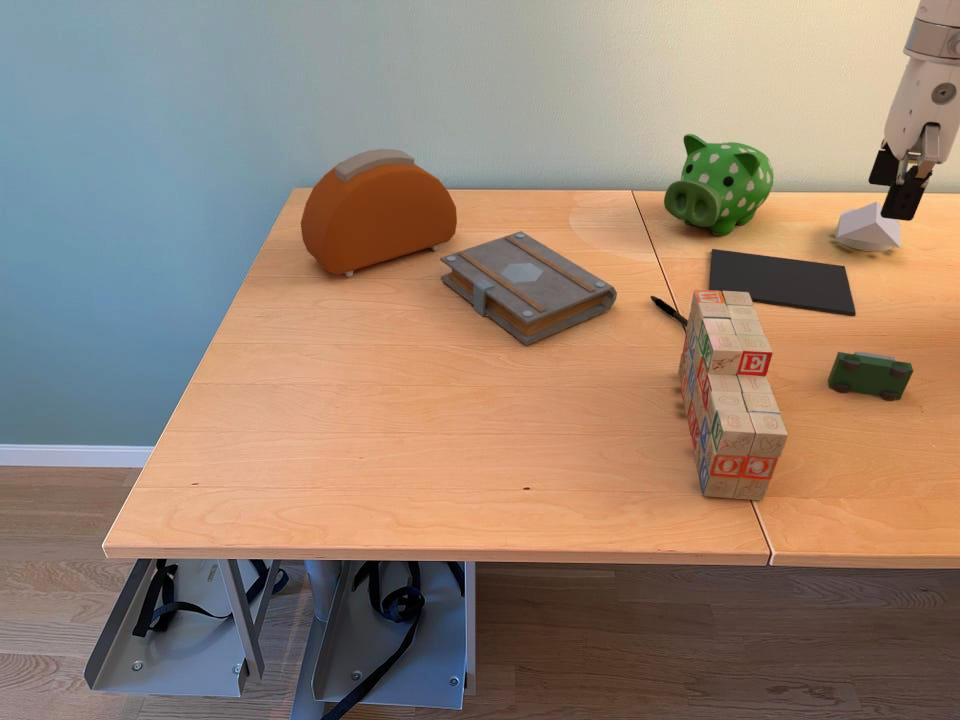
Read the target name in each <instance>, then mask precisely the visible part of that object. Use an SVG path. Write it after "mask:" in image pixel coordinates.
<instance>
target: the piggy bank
mask: <svg viewBox="0 0 960 720" xmlns="http://www.w3.org/2000/svg"><path fill="white" fill-rule="evenodd" d="M682 141H683V144H684V148H685V151H686V152H685V153H686V158H685V162H684V164H683V167H682V171H681V175H680V180H676V181H674V182H671V184H670V185H669V186H668V187H667V188H666V191H665V193H664V197H663V206H664V208H665V210H666V211H667V212H668V213H669V214H670V215H671V216H672V217H674V218H676V219H678V220H680V221H683V222H684V223H685V224H688V225H690V226H696V227H700V228H709V229H710V230H711V233H712V234H713V235H716V236H719V237H720V236H721V237H724V236H727V235H729V234H731V232H733V231H734V229H735V226H736V225H737V226H738V225H739V226H743V225H746V224H748V223H749V222H750V221H751V220H752V219H753V218H754V217H755V214H756V212H757V210H758V209H759V208H760V207H761V206H762V205H763V204H764V203H765V201H767V199H768V197H769V196H770V193H771V192H772V189H773V186H774V178H775V177H774V171H773V170H774V169H773V166H772V164H771V161H770V159H769V157H768V156H767V154H765V153H764V152H762V151H761V150H759V149H757V148H755V147H753V146H752V145H748V144H744V143H741V142H733V141H732V142H731V141H728V142H727V141H726V142H706V141H705V140H704V139H702V138H700V137H699V136H698V135H696V134H693V133H688V134H685V135H683V140H682Z"/></svg>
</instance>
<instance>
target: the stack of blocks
mask: <svg viewBox="0 0 960 720" xmlns="http://www.w3.org/2000/svg"><path fill="white" fill-rule="evenodd" d="M687 320H688V324H687V328H686V327H685V328H686V329H685V338H684V343H683V348H682V353H681V354H680V359H679V366H678V372H677V374H678V379H679V383H680V392H681V397H682V401H683V406H684V413H685V417H686V419H687V423H688V427H689V432H690V436H691V440H692V444H693V449H694V459H695V464H696V469H697V473H698V477H699V478H698V479H699V483H700V487H701V488H700V489H701V493H702V495H703V496H704V497H711V498H713V497H714V498H726V499H737V500H748V501H749V500H750V501H763V500H765V499H764V498H765V496H766V494H767V491H768V488H769V485H770V482H771V480H772V477H773V476H774V472H775V470H776V467H777V463H778V461H779V458H780V457H782V453H783V450H784V448H785V445H786V442H787V439H788V436H789V433H788V431H787V428H786V425H785V423H784V420H783V418H782V415H781V411H780V408H779V405H778V403H777V400H776V397H775V396H774V393H773V390H772V387H771V385H770V383H769V380H768V378H767V377H766V376H767V374H768V371H769V367H770V364H771V360H772V357H773V354H774V351H773V350H772V347H771V345H770V341H769V339H768V338H767V336H766V335H765V332H764V330H763V327H762V324H761V322H760V318H759V316H758V314H757V311H756V308H755V306H754V301H752V300H751V297H750V294H749V293H748V292H735V291H722V292H721V291H712V290H709V289H694V290H693V293H692V299H691V304H690V311H689V314H688V319H687Z"/></svg>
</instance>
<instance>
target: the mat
mask: <svg viewBox="0 0 960 720" xmlns="http://www.w3.org/2000/svg"><path fill="white" fill-rule="evenodd" d="M709 266H710V268H709V279H708V280H709V281H708V290H712V291H721V292H722V291H735V292H748V293H749V294H750V297H751V300H752V302H753V303H763V304H768V305H776V306H783V307H790V308H797V309H802V310H810V311H817V312H825V313H831V314H837V315H845V316H852V317H855V316H856V313H857V312H856V308H855V304H854V298H853V296H852V295H853V294H852V291H851V286H850V281H849V277H848V273H847V270H846V266H845V265H840V264H834V263H827V262H817V261H810V260H803V259H794V258H786V257H780V256H779V257H778V256H770V255H763V254H756V253H747V252H740V251H734V250H724V249H718V248H712V249H711V255H710V265H709Z"/></svg>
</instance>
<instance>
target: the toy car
mask: <svg viewBox="0 0 960 720" xmlns="http://www.w3.org/2000/svg"><path fill="white" fill-rule="evenodd" d="M913 373H914V368H913V365H912V363H911V362H906V361H899V360H897V359H896V356H890V355H883V354H877V353H871V352H865V351H858V350H855V351H854V353H849V352H843V351H838V352H837V353H836V357H835V359H834V362H833V364H832V367H831V370H830V373H829V375H828V377H827V386H828V389H833V390H834V391H836V392H837V393H841V394H847V393H849V392H852V393H859V394H864V395H869V396H876V397H879V398H881V399H882V400H884V401H888V402H893V401H895V400H901V399H902V397H903V395H904V392H905V390H906V388H907V386H908V383H909V381H910V380H911V377H912V375H913Z"/></svg>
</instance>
